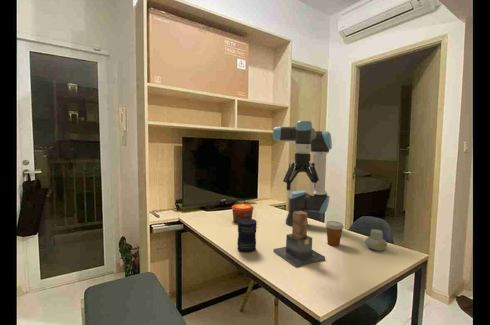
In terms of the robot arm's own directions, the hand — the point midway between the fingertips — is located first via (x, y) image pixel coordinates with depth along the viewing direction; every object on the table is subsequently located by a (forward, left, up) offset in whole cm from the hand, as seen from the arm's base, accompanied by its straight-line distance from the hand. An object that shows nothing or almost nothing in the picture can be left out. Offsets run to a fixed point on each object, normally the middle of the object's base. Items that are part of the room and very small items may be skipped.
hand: (300, 196), depth 127 cm
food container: (0, -63, -31) cm, 70 cm away
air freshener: (-45, +10, -31) cm, 55 cm away
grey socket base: (0, 0, -30) cm, 30 cm away
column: (0, 0, -28) cm, 28 cm away
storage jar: (+20, -18, -31) cm, 41 cm away
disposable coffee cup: (-28, -4, -31) cm, 42 cm away
